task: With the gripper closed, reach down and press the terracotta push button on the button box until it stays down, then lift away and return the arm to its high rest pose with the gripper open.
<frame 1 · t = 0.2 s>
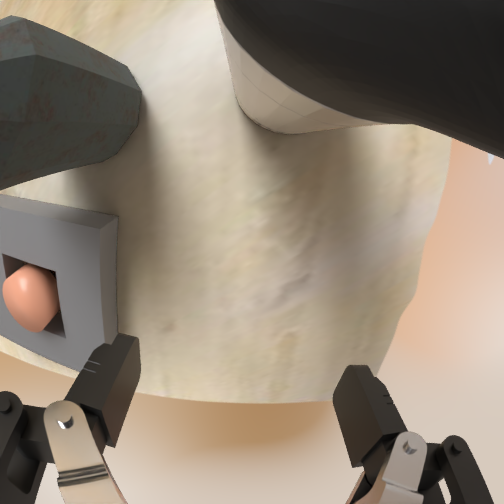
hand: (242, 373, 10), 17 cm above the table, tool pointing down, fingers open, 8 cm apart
bottle: (98, 111, 21), on the table
button cap: (31, 297, 24), point 4 cm above the table, slide at 0.0 cm
button box: (48, 281, 28), on the table
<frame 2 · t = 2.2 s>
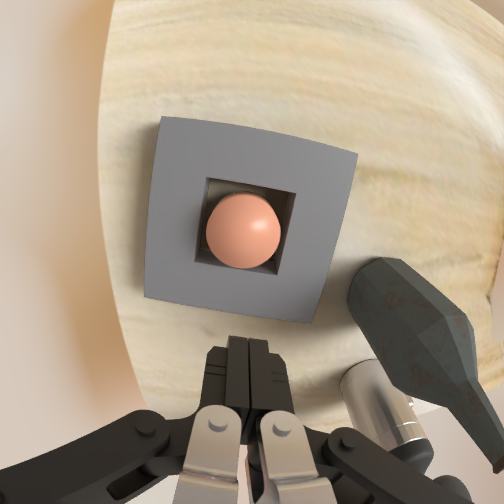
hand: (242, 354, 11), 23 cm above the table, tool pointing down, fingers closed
bottle: (378, 288, 36), on the table
button cap: (243, 228, 28), point 4 cm above the table, slide at 0.0 cm
button box: (243, 219, 32), on the table
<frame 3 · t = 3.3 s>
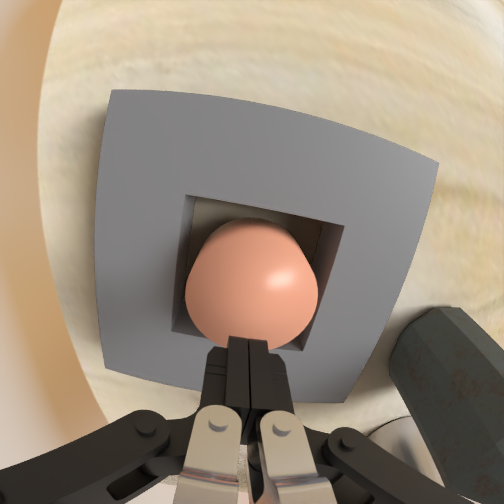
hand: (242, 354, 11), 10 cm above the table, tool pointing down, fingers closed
bottle: (426, 343, 24), on the table
button cap: (251, 284, 16), point 4 cm above the table, slide at 0.0 cm
button box: (250, 259, 20), on the table
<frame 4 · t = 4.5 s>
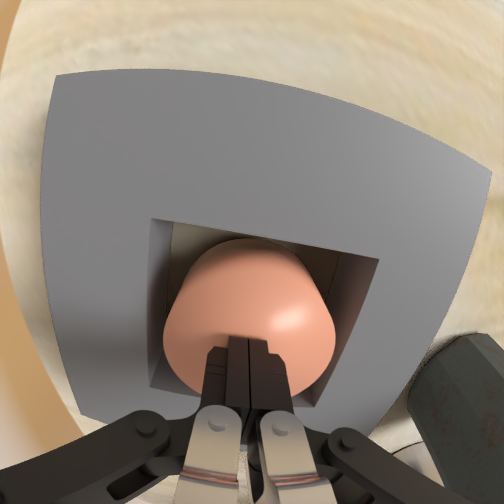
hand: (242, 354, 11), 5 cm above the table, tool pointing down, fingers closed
bottle: (448, 372, 19), on the table
button cap: (248, 325, 13), point 3 cm above the table, slide at -1.0 cm, touching gripper
button box: (248, 294, 15), on the table
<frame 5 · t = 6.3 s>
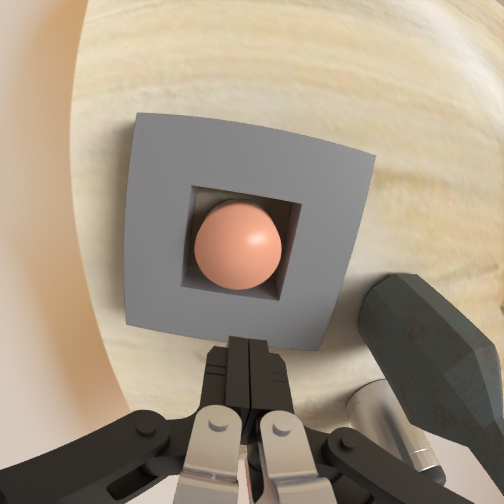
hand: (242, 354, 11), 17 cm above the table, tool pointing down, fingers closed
bottle: (391, 306, 31), on the table
button cap: (238, 242, 24), point 3 cm above the table, slide at -1.1 cm
button box: (238, 233, 27), on the table
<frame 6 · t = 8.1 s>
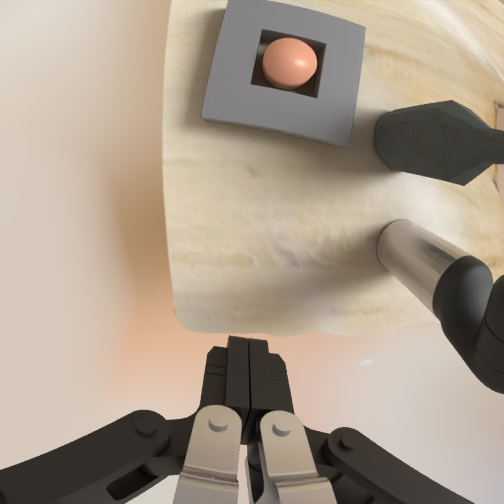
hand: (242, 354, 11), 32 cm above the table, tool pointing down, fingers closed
bottle: (398, 141, 38), on the table
button cap: (288, 64, 32), point 3 cm above the table, slide at -1.1 cm
button box: (285, 69, 34), on the table
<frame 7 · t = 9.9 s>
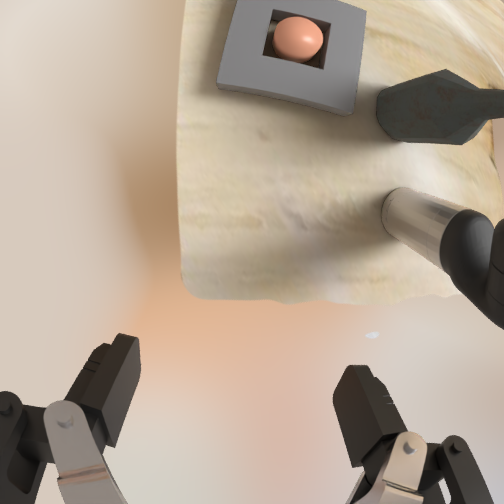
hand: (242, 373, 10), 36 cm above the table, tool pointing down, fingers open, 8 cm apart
bottle: (398, 114, 39), on the table
button cap: (296, 40, 32), point 3 cm above the table, slide at -1.1 cm
button box: (293, 46, 35), on the table
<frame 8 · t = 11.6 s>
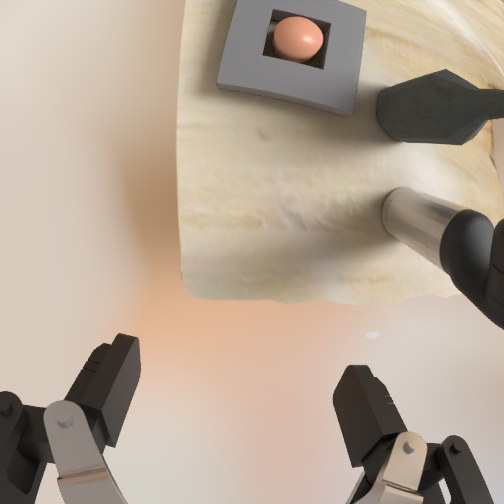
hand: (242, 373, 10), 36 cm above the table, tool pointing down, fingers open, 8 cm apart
bottle: (398, 114, 39), on the table
button cap: (296, 40, 32), point 3 cm above the table, slide at -1.1 cm
button box: (293, 46, 35), on the table
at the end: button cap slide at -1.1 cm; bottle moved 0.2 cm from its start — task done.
